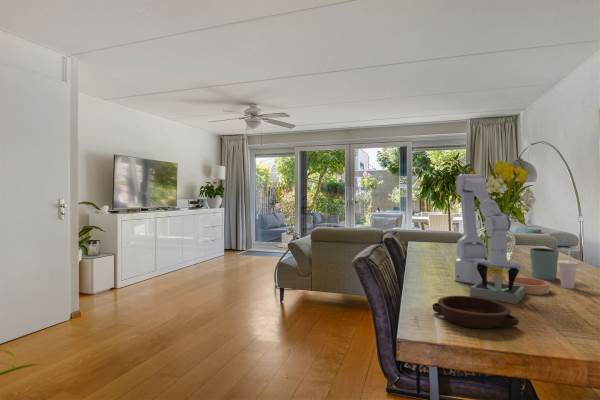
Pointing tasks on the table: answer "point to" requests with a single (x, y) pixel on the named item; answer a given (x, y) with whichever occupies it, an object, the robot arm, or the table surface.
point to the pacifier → (497, 284)
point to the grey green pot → (544, 263)
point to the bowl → (531, 285)
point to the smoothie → (567, 272)
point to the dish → (474, 312)
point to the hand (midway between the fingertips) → (497, 287)
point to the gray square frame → (498, 292)
